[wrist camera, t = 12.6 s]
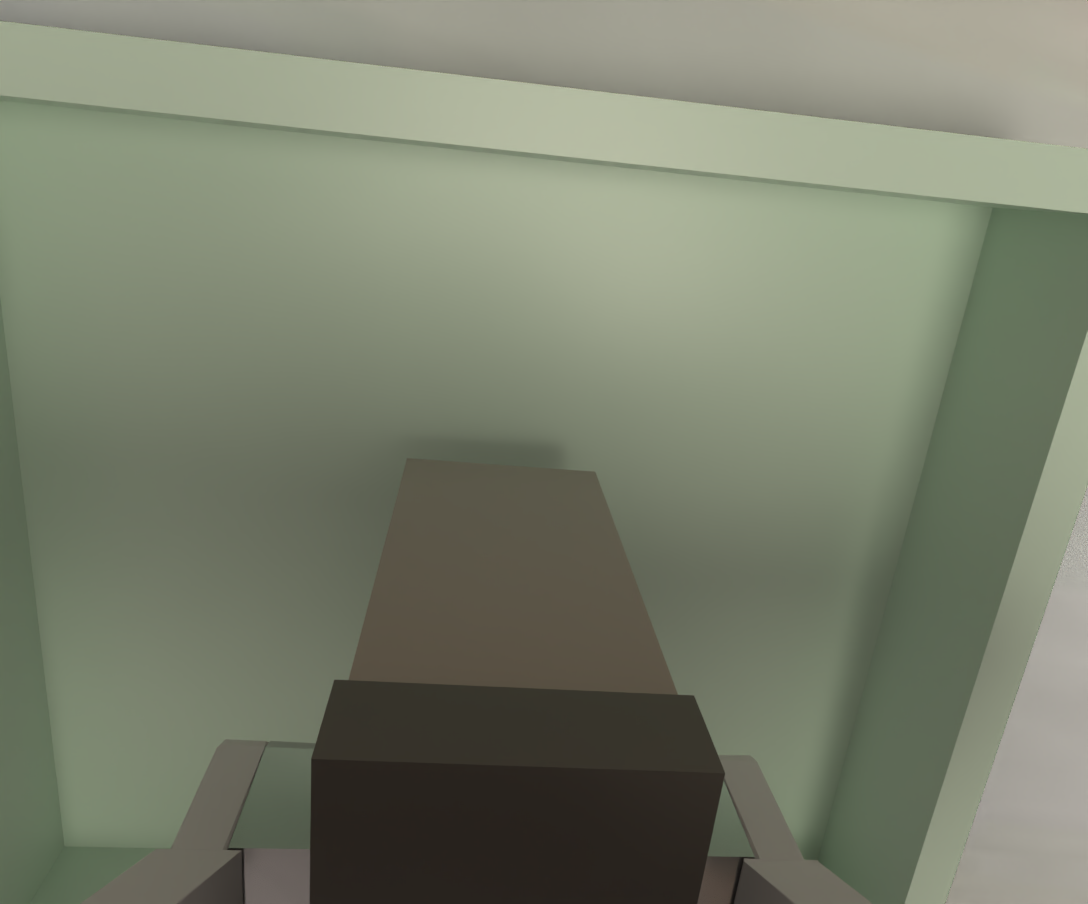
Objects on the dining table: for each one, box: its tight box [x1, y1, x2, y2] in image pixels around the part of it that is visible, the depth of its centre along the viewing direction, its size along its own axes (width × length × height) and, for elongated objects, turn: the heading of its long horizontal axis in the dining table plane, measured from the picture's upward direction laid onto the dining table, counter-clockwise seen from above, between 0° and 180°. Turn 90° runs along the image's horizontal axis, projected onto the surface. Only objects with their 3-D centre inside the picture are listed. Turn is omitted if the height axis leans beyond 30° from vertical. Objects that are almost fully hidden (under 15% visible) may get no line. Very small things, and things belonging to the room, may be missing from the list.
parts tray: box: [0, 21, 1088, 904], centre depth 14 cm, size 18×16×4 cm
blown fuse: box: [310, 458, 725, 904], centre depth 10 cm, size 3×5×7 cm, turn 174°
